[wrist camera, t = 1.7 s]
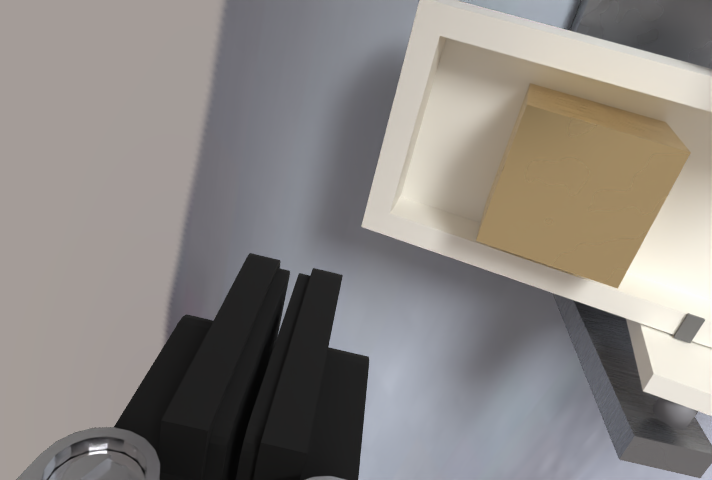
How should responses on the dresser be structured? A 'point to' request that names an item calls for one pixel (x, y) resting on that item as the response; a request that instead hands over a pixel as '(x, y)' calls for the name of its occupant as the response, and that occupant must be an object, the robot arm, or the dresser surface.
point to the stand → (609, 331)
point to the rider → (580, 184)
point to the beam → (485, 151)
